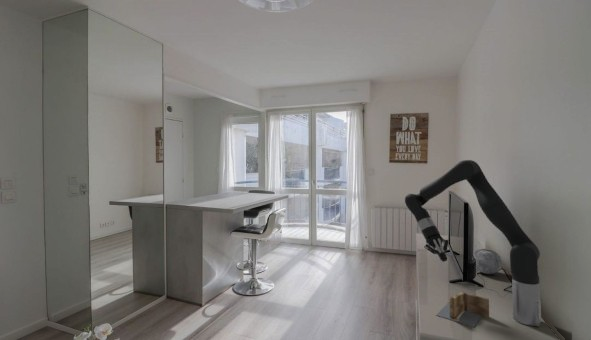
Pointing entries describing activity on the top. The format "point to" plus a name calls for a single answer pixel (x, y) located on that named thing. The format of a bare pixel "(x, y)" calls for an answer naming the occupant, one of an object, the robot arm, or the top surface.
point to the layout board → (460, 316)
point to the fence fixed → (476, 304)
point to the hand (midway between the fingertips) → (445, 260)
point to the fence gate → (456, 304)
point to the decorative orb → (487, 261)
